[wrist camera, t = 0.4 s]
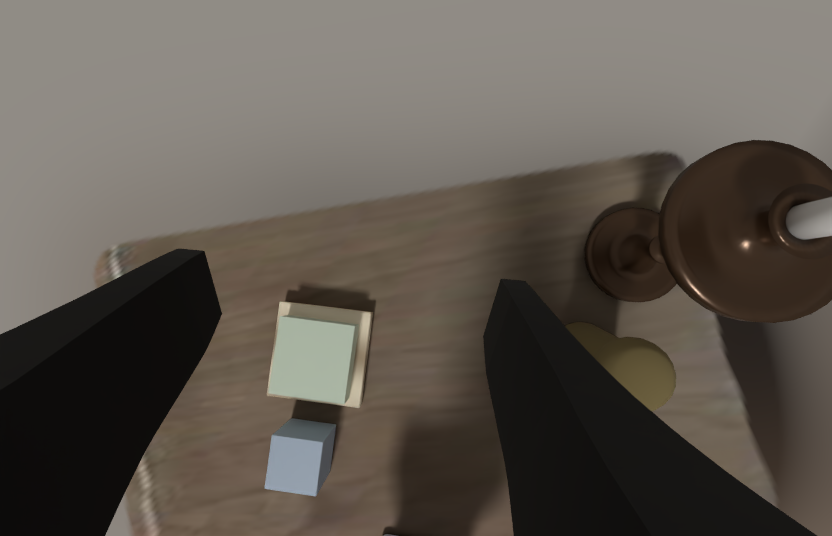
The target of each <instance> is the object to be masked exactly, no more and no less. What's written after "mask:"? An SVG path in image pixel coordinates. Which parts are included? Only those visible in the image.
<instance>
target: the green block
mask: <svg viewBox="0 0 832 536" xmlns="http://www.w3.org/2000/svg"><path fill="white" fill-rule="evenodd" d="M358 329H359V324H353V323H346V322H338V321H330V320H323V319H315V318H308V317H300V316H293V315H284V316H280V318H279V325H278V331H277V338H276V345H275V351H274V358H273V365H272V371H271V378H270V385H269V391H268V393H269V394H276V395H283V396H290V397H297V398H303V399H310V400H317V401H324V402H331V403H338V404H345V403H346V401H347V400H348V399H349V396H350V388H351V381H352V373H353V366H354V359H355V351H356V344H357V337H358Z"/></svg>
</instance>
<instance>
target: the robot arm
mask: <svg viewBox="0 0 832 536" xmlns="http://www.w3.org/2000/svg"><path fill="white" fill-rule="evenodd" d="M221 315H222V312H221V308H220V305H219V301H218V298H217V294H216V291H215V287H214V284H213V280H212V277H211V273H210V269H209V266H208V262H207V259H206V255H205V252H204V251H199V250H188V249H176V250H174V251H171V252H169V253H167V254H165V255H162V256H160V257H158V258H156V259H154V260H152V261H150V262H148V263H146V264H144V265H142V266H140V267H138V268H136V269H134V270H132V271H130V272H128V273H126V274H124V275H123V276H121V277H119V278H117V279H115V280H113V281H111V282H109V283H107V284H105V285H103V286H101V287H99V288H97V289H95V290H93V291H91V292H89V293H87V294H85V295H83V296H81V297H79V298H77V299H75V300H73V301H71V302H69V303H67V304H65V305H62V306H60V307H58V308H56V309H54V310H52V311H50V312H48V313H46V314H43V315H42V316H39V317H37V318H35V319H33V320H31V321H29V322H27V323H25V324H22V325H20V326H18V327H16V328H14V329H12V330H9V331H7V332H5V333H3V334H0V536H105V535H106V532H107V530H108V528H109V526H110V524H111V521H112V519H113V517H114V515H115V513H116V510H117V508H118V506H119V504H120V502H121V499H122V497H123V495H124V493H125V491H126V489H127V487H128V485H129V483H130V481H131V479H132V477H133V475H134V473H135V471H136V469H137V467H138V465H139V463H140V461H141V458H142V457H143V455H144V453H145V451H146V449H147V447H148V446H149V444H150V442H151V440H152V439H153V437H154V435H155V433H156V432H157V430H158V429H159V427H160V425H161V424H162V422H163V420H164V419H165V417H166V416H167V414H168V412H169V411H170V409H171V407H172V406H173V404H174V403H175V401H176V399H177V398H178V396H179V394H180V393H181V391H182V390H183V388H184V386H185V385H186V383H187V381H188V380H189V378H190V377H191V375H192V373H193V372H194V370H195V368H196V367H197V365H198V363H199V362H200V360H201V358H202V357H203V355H204V353H205V351H206V350H207V347H208V345H209V343H210V341H211V339H212V336H213V334H214V332H215V329H216V327H217V325H218V322H219V320H220V317H221ZM483 338H484V352H485V364H486V374H487V379H488V384H489V389H490V394H491V399H492V404H493V408H494V413H495V418H496V423H497V427H498V432H499V437H500V442H501V446H502V451H503V456H504V461H505V467H506V473H507V479H508V487H509V496H510V505H511V514H512V522H513V532H514V536H817V535H815V534H814V533H812V532H811V531H809V530H808V529H807V528H805V527H804V526H802V525H801V524H799V523H798V522H796V521H795V520H794V519H792V518H791V517H789V516H787V515H786V514H785V513H784V512H782V511H780V510H779V509H778V508H776V507H775V506H773V505H772V504H771V503H769V502H768V501H766V500H765V499H763V498H762V497H760V496H759V495H758V494H756V493H755V492H754V491H752V490H751V489H749V488H748V487H747V486H745V485H744V484H743V483H741V482H740V481H738V480H737V479H736V478H734V477H733V476H732V475H730V474H729V473H728V472H726V471H725V470H724V469H722V468H721V467H720V466H718V465H717V464H716V463H715V462H713V461H712V460H711V459H709V458H708V457H707V456H705V455H704V454H703V453H702V452H700V451H699V450H698V449H696V448H695V447H694V446H693V445H691V444H690V443H689V442H687V441H686V440H685V439H684V438H682V437H681V436H680V435H679V434H678V433H676V432H675V431H674V430H673V429H671V428H670V427H669V426H668V425H667V424H665V423H664V422H663V421H662V420H661V419H660V418H658V417H657V416H656V415H655V414H654V413H653V412H652V411H650V410H649V409H648V408H647V407H646V406H645V405H644V404H642V403H641V402H640V401H639V400H638V399H637V398H635V397H634V396H633V395H632V394H631V393H630V392H629V391H628V390H627V389H626V388H625V387H624V386H622V385H621V384H620V383H619V382H618V381H617V380H616V379H615V378H614V377H613V376H612V375H611V374H610V373H609V372H608V371H607V370H606V369H605V368H604V367H603V366H602V365H601V364H600V363H599V362H598V361H597V360H596V359H595V358H594V357H593V356H592V355H591V354H590V353H589V352H588V351H587V350H586V349H585V348H584V347H583V345H582V344H581V343H580V342H579V341H578V340H577V339H576V338H575V337H574V336H573V335H572V334H571V332H570V331H569V330H568V329H567V328H566V327H565V326H564V325H563V324H562V322H561V321H560V320H559V319H558V318H557V317H556V316H555V314H554V313H553V312H552V311H551V310H550V309H549V308H548V306H547V305H546V304H545V303H544V302H543V301H542V300H541V298H540V297H539V296H538V295H537V294H536V293H535V291H534V290H533V289H532V288H531V287H530V286H529V285H528V284H527V283H526V282H525V281H519V280H508V279H501V280H500V283H499V287H498V290H497V293H496V297H495V300H494V303H493V306H492V310H491V313H490V316H489V319H488V323H487V326H486V329H485V333H484V336H483ZM383 536H397V535H390V534H385V535H383Z"/></svg>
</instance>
